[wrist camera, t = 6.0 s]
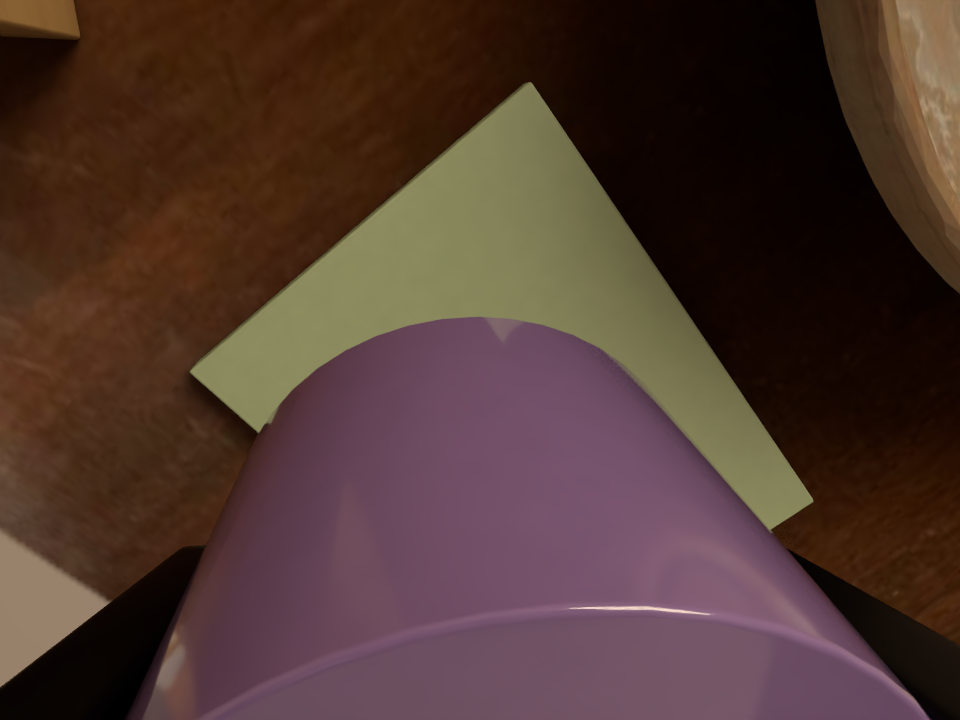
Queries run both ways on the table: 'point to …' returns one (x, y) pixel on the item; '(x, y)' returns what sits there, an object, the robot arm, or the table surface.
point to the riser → (39, 19)
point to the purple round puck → (498, 557)
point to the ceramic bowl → (904, 111)
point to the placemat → (506, 291)
